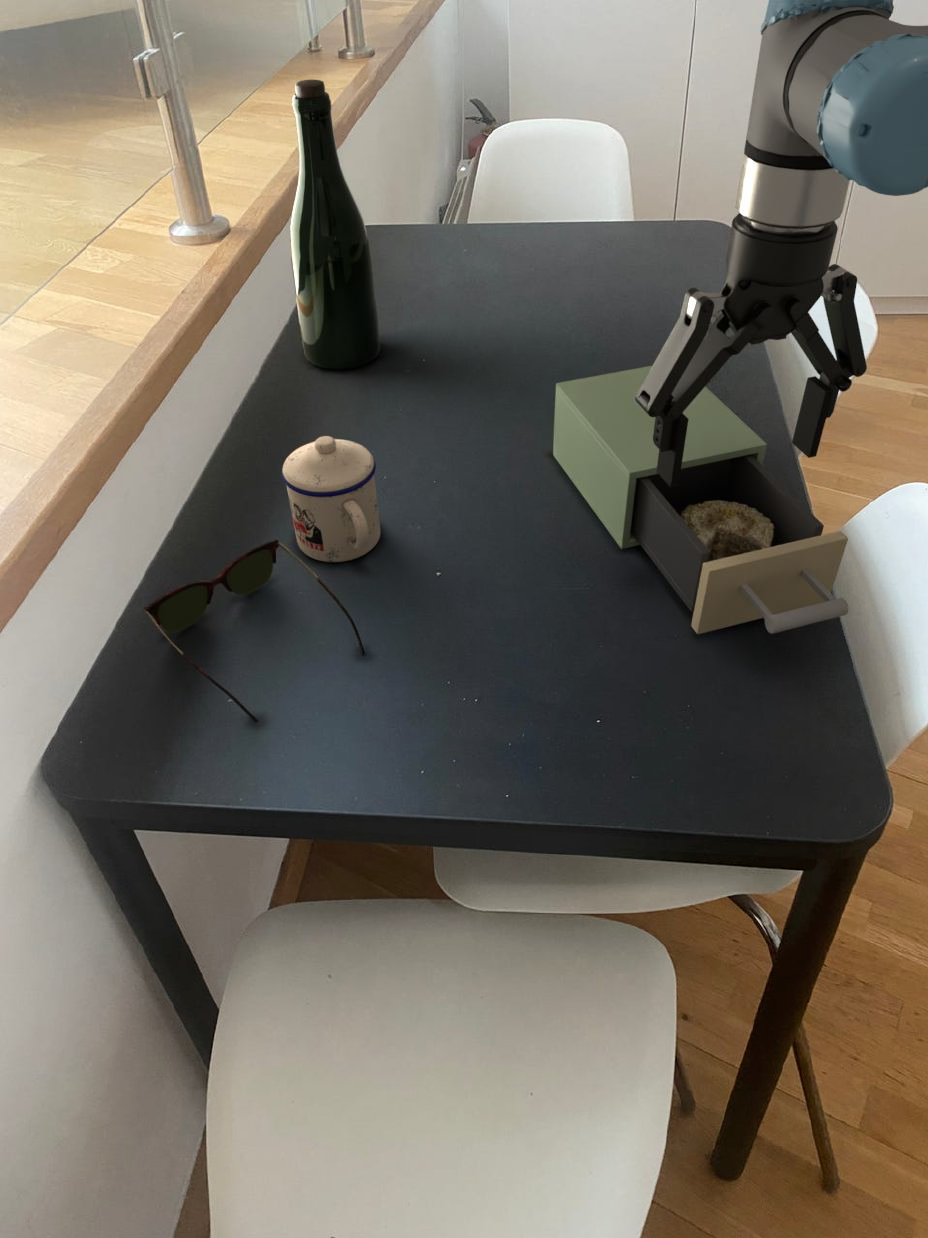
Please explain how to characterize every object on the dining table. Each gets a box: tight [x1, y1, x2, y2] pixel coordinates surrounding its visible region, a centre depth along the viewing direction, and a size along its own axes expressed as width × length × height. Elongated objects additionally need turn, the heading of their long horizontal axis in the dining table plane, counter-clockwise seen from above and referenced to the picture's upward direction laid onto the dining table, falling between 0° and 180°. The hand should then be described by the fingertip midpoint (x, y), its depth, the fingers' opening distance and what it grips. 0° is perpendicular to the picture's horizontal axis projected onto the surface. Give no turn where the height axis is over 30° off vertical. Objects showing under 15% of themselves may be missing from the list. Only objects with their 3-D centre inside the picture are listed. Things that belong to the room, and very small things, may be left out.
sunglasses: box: [143, 538, 366, 723], centre depth 82 cm, size 14×15×5 cm
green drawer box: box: [552, 365, 768, 550], centre depth 97 cm, size 19×15×9 cm
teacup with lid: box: [281, 435, 381, 563], centre depth 90 cm, size 12×9×12 cm
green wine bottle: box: [288, 79, 381, 370], centre depth 115 cm, size 10×10×33 cm
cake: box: [680, 500, 775, 562], centre depth 87 cm, size 10×10×5 cm
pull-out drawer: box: [630, 454, 849, 635], centre depth 85 cm, size 23×13×7 cm, turn 18°
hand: (736, 464), depth 82 cm, fingers open, 13 cm apart
